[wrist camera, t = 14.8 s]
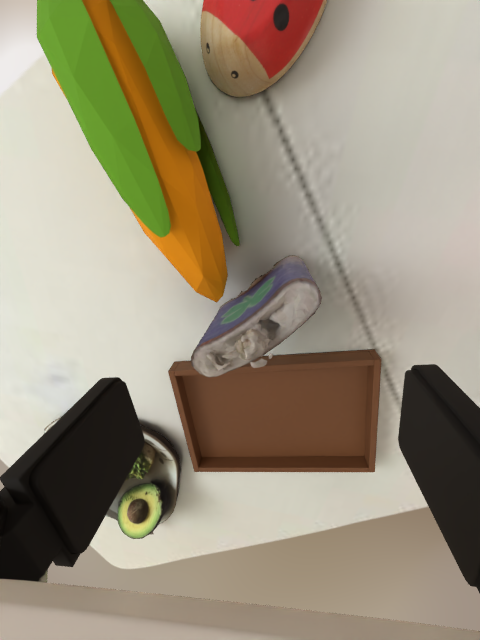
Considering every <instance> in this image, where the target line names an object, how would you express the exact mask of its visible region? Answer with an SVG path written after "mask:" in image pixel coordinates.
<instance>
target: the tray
mask: <svg viewBox="0 0 480 640" xmlns="http://www.w3.org/2000/svg"><path fill="white" fill-rule="evenodd" d="M261 359H264V360H267V364H266V365H265V366H263V367H259V368H253V367H252V366H251V363H248V364H246V365H243V366H241V367H239V368H237V369H235V370H232V371H229V372H227V373H225V374H222V375H220V376H217V377H206V376H204V375H202V374H200V373H199V372H198V371H197V370H196V369H195V368H194V367H193V366H192V365H191V361H180V362H174V363H173V365H172V366H171V368H170V369H169V371H168V372H169V376H170V380H171V384H172V388H173V391H174V395H175V399H176V403H177V407H178V411H179V414H180V418H181V422H182V426H183V430H184V434H185V437H186V441H187V445H188V449H189V453H190V457H191V460H192V464H193V468H194V472H199V471H200V472H375V458H376V441H377V425H378V408H379V391H380V374H381V358H380V357H379V355H378V354H377V353H376V351H375V350H374V349H373V350H357V351H341V352H325V353H309V354H293V355H277V356H272V358H271V359H269V356H262V357H259V358H257V359H256V360H254V361H252V362H256V361H258V360H261Z"/></svg>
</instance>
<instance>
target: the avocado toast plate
mask: <svg viewBox="0 0 480 640" xmlns="http://www.w3.org/2000/svg"><path fill="white" fill-rule="evenodd" d="M59 419H60V418H59ZM59 419H56V420H55V421H53V422H52V423H51V424H49V425H48V426H47V427H46V428H45V432H44V434H45V433H46V432H47V431H48V430H49V429H50V428H51V427H52V426H53V425H54V424H55V423H56V422H57V421H58V420H59ZM140 426H141V425H140ZM141 429H142V432H143V435H144V438H145V443H144V447H143V449H142V451H141V453H140V455H139V456H138V458H137V460H136V462H135V464H134V465H133V467H132V469H131V471H130V473H129V474H128V476H127V478H126V480H125V481H124V483H123V485H122V487H121V489H120V490H119V492H118V494H117V496H116V498H115V499H114V501H113V503H112V505H111V507H110V508H109V510H108V512H107V514H106V515H105V516H107V517H111V518H113V519H116V520H117V521H118V524H119V526H120V528H121V530H122V532H123V533H124V534H125V535H127V536H128V537H130V538H133V539H140V538H144V537H145V536H147V535H149V534H153V531H154V529H155V528H156V527H157V526H158V524H160V523H162V522H164V521H166V520H167V519H168V518H169V517H170V516H171V514H172V513H173V511H174V508H175V505H176V499H177V495H178V484H179V476H180V471H181V467H180V459H179V456H178V454H177V452H176V451H175V450H174V448H173V446H172V444H171V443H170V442H169V441H168V440H167V439H166V438H165V437H164V436H162V435H161V434H159V433H157V432H155V431H153V430H151V429H148V428H145V427H143V426H141Z"/></svg>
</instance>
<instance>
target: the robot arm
mask: <svg viewBox="0 0 480 640" xmlns="http://www.w3.org/2000/svg"><path fill="white" fill-rule="evenodd" d="M398 440H399V446H400V449H401V451H402V453H403V455H404V457H405V459H406V461H407V464H408V466H409V468H410V470H411V472H412V474H413V476H414V478H415V480H416V482H417V484H418V486H419V488H420V490H421V492H422V494H423V496H424V498H425V500H426V502H427V504H428V506H429V508H430V510H431V512H432V514H433V516H434V518H435V520H436V522H437V524H438V526H439V528H440V530H441V532H442V534H443V536H444V538H445V540H446V542H447V544H448V546H449V548H450V550H451V552H452V554H453V556H454V558H455V560H456V562H457V564H458V566H459V568H460V570H461V572H462V574H463V576H464V578H465V580H466V581H467V582H468V584H469V585H470V586H475V587H477V589H478V591H479V593H480V408H479V407H478V406H477V405H476V404H475V403H474V402H473V401H472V400H471V399H470V398H469V397H468V396H467V395H466V394H465V393H464V392H463V391H462V390H461V389H460V388H459V387H458V386H457V385H456V384H455V383H454V382H453V381H452V380H451V379H450V378H449V377H448V376H447V375H446V374H445V373H444V372H443V371H442V369H441V368H440V367H438V366H437V365H434V364H432V365H414V366H412V368H411V370H407V371H406V373H405V379H404V389H403V398H402V408H401V417H400V427H399V436H398ZM144 443H145V438H144V435H143V432H142V429H141V426H140V423H139V420H138V417H137V415H136V412H135V409H134V406H133V403H132V400H131V397H130V394H129V391H128V388H127V386H126V383H125V382H123V381H122V380H121V379H120V378H118V377H116V378H102V379H100V380H99V381H98V382H97V383H96V384H95V385H94V386H93V387H92V388H91V389H90V390H89V391H88V392H87V393H86V394H85V395H84V396H83V397H82V398H81V399H80V400H79V401H78V402H77V403H76V404H75V405H74V406H73V407H71V408H70V409H69V410H68V411H67V412H66V413H65V414H64V415H63V416H62V417H61V418H60V419H59V420H58V421H57V422H56V423H55V424H54V425H53V426H52V427H51V428H50V429H49V430H48V431H47V432H46V433H45V434H44V435H43V436H42V437H41V438H40V439H39V440H38V441H37V442H36V443H35V444H34V445H32V446H31V447H30V448H29V449H28V450H27V451H26V452H25V453H24V454H23V455H22V456H21V457H20V458H19V459H18V460H17V461H16V462H15V463H14V464H13V465H12V466H11V467H10V468H9V469H8V470H7V471H6V472H5V473H4V474H3V475H2V476H1V477H0V480H1V482H2V483H3V485H4V486H5V487H4V488H3V489H2V490H1V491H0V640H480V631H474V630H467V629H459V628H452V627H445V626H437V625H430V624H421V623H414V622H407V621H398V620H390V619H380V618H372V617H363V616H354V615H345V614H337V613H328V612H318V611H310V610H301V609H292V608H283V607H275V606H266V605H257V604H247V603H238V602H229V601H219V600H210V599H201V598H191V597H182V596H172V595H163V594H154V593H143V592H135V591H125V590H116V589H105V588H96V587H85V586H76V585H66V584H56V583H55V584H54V583H47V572H48V571H47V569H48V568H49V566H50V564H51V563H52V561H53V562H54V563H55V565H58V566H68V567H73V565H74V564H75V562H76V560H77V559H78V557H79V555H80V553H82V552H84V551H85V550H86V549H87V547H88V546H89V544H90V542H91V540H92V539H93V537H94V535H95V533H96V532H97V530H98V528H99V526H100V524H101V523H102V521H103V519H104V517H105V515H106V514H107V512H108V510H109V508H110V507H111V505H112V503H113V501H114V499H115V498H116V496H117V494H118V492H119V490H120V489H121V487H122V485H123V483H124V481H125V480H126V478H127V476H128V474H129V473H130V471H131V469H132V467H133V465H134V464H135V462H136V460H137V458H138V456H139V455H140V453H141V451H142V449H143V447H144Z"/></svg>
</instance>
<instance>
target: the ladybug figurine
mask: <svg viewBox="0 0 480 640" xmlns="http://www.w3.org/2000/svg"><path fill="white" fill-rule="evenodd" d="M326 2H327V0H204V2H203V9H202V15H201V49H202V56H203V60H204V64H205V68H206V70H207V73H208V75H209V77H210V79H211V80H212V82H213V83H214V84H215V85H216V86H217V87H218V88H219V89H220V90H221V91H223V92H224V93H226V94H228V95H231V96H235V97H245V96H250V95H254V94H256V93H259V92H261V91H263V90H265V89H266V88H268V87H270V86H271V85H273V84H274V83H275V82H277V81H278V80H279V79H280V78H281V77H282V76H283V75H284V74H285V73H286V72H287V71H288V70H289V69H290V67H291V66H292V65H293V64H294V63H295V61H296V60H297V59H298V57H299V56H300V55H301V53H302V52H303V50H304V49H305V47H306V45H307V44H308V42H309V40H310V38H311V37H312V35H313V33H314V31H315V29H316V27H317V25H318V23H319V21H320V18H321V16H322V13H323V11H324V8H325V5H326Z"/></svg>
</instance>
